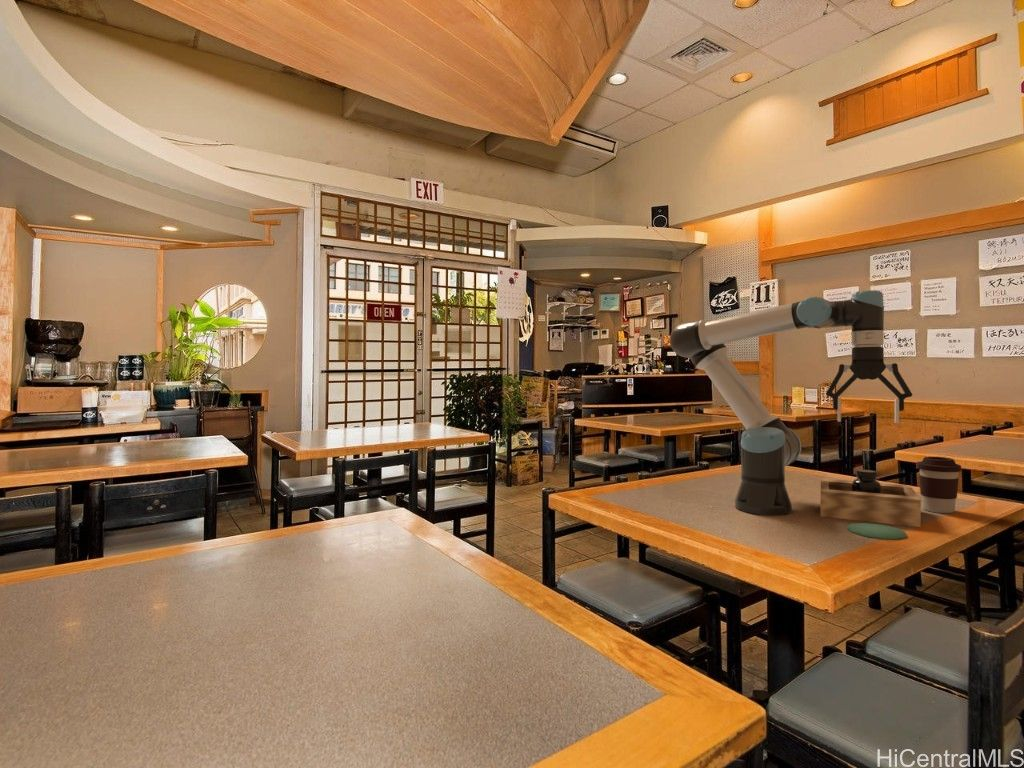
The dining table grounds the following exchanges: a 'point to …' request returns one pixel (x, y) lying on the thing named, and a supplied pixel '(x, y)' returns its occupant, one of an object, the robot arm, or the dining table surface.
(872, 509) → the cover box
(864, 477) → the supplement bottle
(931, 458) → the coffee cup
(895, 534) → the mat
